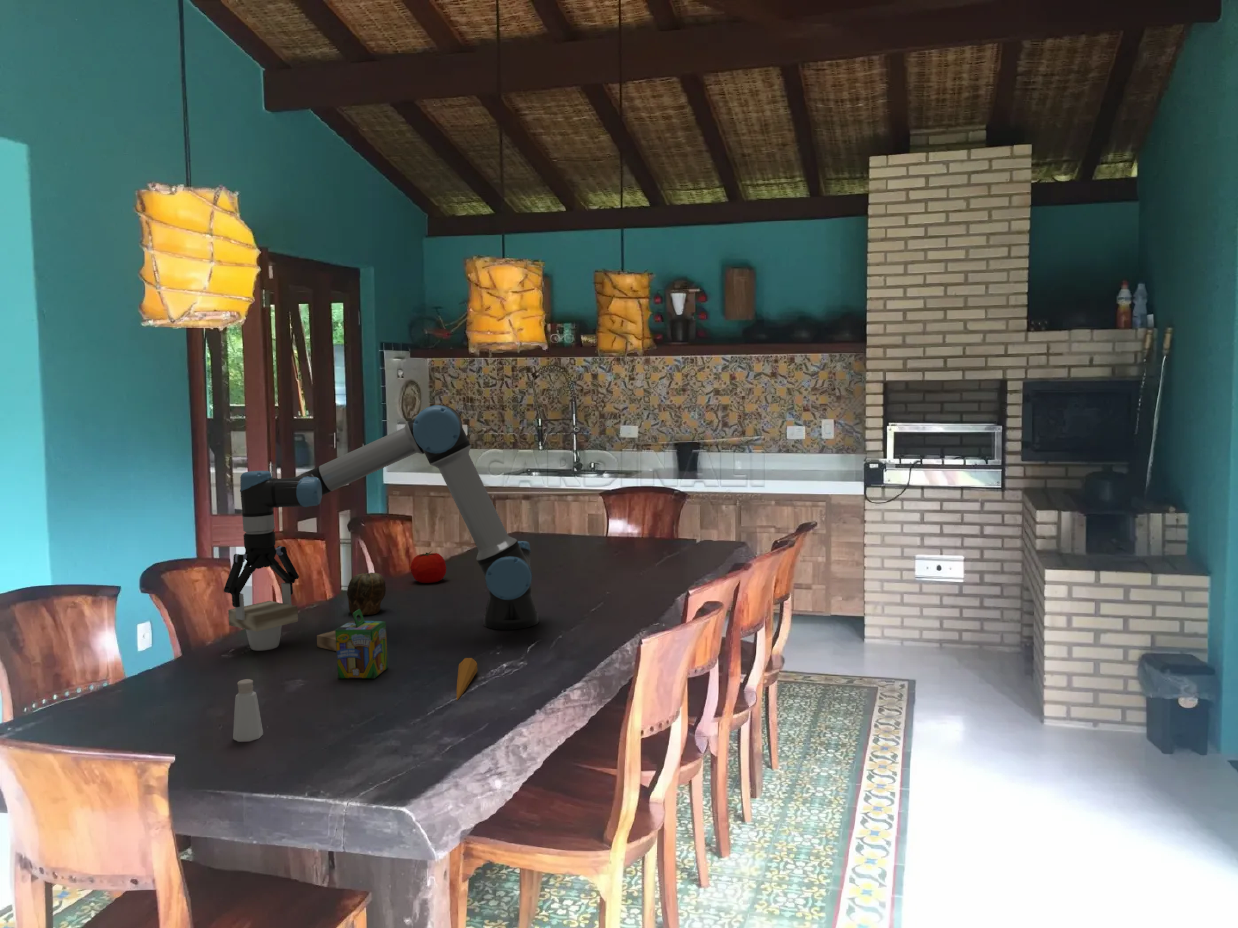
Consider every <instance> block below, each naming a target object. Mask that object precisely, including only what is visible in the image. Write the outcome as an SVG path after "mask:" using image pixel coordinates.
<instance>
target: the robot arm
mask: <svg viewBox="0 0 1238 928" xmlns="http://www.w3.org/2000/svg"><path fill="white" fill-rule="evenodd" d="M471 447H472V444H471V442H470V440H469V437H468V436H467V434H466V432H465V429H464V428H463V421H462V418H461V416H460V414H459V412H457V411H456V410H455V409H454V408H452V407H451V406H449V405H445V404H438V405H437V404H435V405H430V406H427V407H425V408H423V409H422V410H421V411H420V412H419V413H418V414H417V415H416V417H415V418H413V419H411V420H408V421H407V422H406V423H405V427H402V428H400V429H398V430H396V431H394V432H392V433H389V434H386V435H385V436H383V437H380V438H378V439H376V440H374V441H371V442H369V443H368V444H364V445H362V446H361V447H359V448H356V449H354V450H352V451H349V452H347V453H344V454H343V455H340V456H339V457H337V458H334V459H332V460H329V461H328V462H326V463H323V464H321V465H319V466H317V467H315V468H312V469H310V470H308V471H305V472H303V473H301V474H299V475H296V476H294V477H281V478H280V477H279V478H277V477H275V478H274V477H273V476H272V472H271V471H270V470H251V471H245V472H243V473H241V475H240V477H239V478H240V482H239V483H240V485H239V486H240V488H239V492H240V501H241V513H242V515H241V516H242V528H243V530H242V531H243V532H245V533H244V534H243V547H244V549H245V552H244V553H241V554H239V553H235V554H233V558H232V559H233V562H232V565H231V569H230V571H229V573H228V577H227V580H226V582H225V586H224V587H223V592H224V593H225V594H226V593H227V594H230V595H231V601H232V603H231V604H232V606H233V608H234V609H235V610H236V619H239V620H245V612H244V606H245V601H244V600H245V599H244V598H245V597H244V593H242V591H243V589H244V587H245V586H246V584H247V582H248V581H249V579H250V577H251V576H252V574H253V573H254V572H255V571H256V570H259V569H262V568H270V569H272V570H273V571H274V573H275V574H276V575H278V576H279V578H280V579H281V580H282V581H283V582H281V596H282V597H281V598H282V603H283V604H289V605H292V595H294V589H293V584H294V583H295V582H296V580H299V578H300V575H299V574H298V571H297V570H296V568H295V566H294V564H293V563H292V560H291V559H290V557H289V555H288V550H287V546H281V545H278V546H277V547H276V546H275V545H276V533H275V531H274V530H275V527H276V526H275V518H274V517H275V515H274V514H275V513H274V508H275V509H277V508H302V507H304V508H309V507H313V506H314V507H315V506H319V505H320V504H321V502H322V498H323V496H324V495H327V494H329V493H330V492H333V491H335V490H338V489H340V488H342V487H344V486H346V485H348V484H351V483H353V482H355V481H358V480H360V479H362V478H364V477H366V476H368V475H370V474H371V475H372V474H373V473H375V472H378V471H379V470H383V469H384V468H386V467H388V466H391V465H392V464H393V465H394V464H395V463H398V462H400V461H401V460H404V459H406V458H408V457H410V456H412V455H415V454H420V455H425V458H426V459H427V462H428V463H429V465H430V466H432V467H435V468H437V469H438V470H439V472H440V474H441V476H442V478H443V481H444V482H445V485H446V487H447V488H448V491H449V492H450V493H449V494H450V495H451V497H452V498H453V501H454V503H455V505H456V507H457V509H458V511H459V513H460V515H461V518H462V519H463V521H464V524H465V526H466V527H467V528H466V529H467V530H468V532H469V533H470V534H469V535H470V536H471V537H472V540H473V542H474V544H475V546H476V548H477V550H478V551H477V552H478V553H477V556H476V561H477V564H478V565H479V567H480V569H481V571H482V574H483V576H484V578H485V585H486V587H487V589H488V600H487V604H486V607H485V613H484V614H483V625H484V627H485V628H489V629H493V630H503V631H505V630H519V629H520V630H521V629H526V628H527V629H528V628H531V627H534V626H536V625H537V624H538V623H539V613H538V611H537V610H536V605H535V601H534V600H533V596H532V580H533V572H532V568H531V553H532V549H531V545H530V542H529V541H526V540H517V538H514V537H512V536H510V535H509V534H508V532H507V531H506V528H505V526H504V524H503V522H502V519H501V518H500V516H499V513H498V511H497V510H496V509H497V508H495V505H494V504H493V501H492V500H491V497H490V495H489V493H488V492H487V491H488V490H487V489H486V487H485V484H484V483H483V480H482V478H481V477H480V475H479V473H478V471H477V468H476V466H475V464H474V462H473V460H472V458H471V456H470V451H471ZM276 555H277V556H278V559H279V560H280V563H281V564H282V565H280V563H279V562H278V560H277V559H275V557H276ZM244 562H246V563H245V564H244ZM282 566H283V567H284V568H283V567H282ZM242 568H243V569H242Z"/></svg>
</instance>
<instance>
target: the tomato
mask: <svg viewBox="0 0 1238 928" xmlns="http://www.w3.org/2000/svg"><path fill="white" fill-rule="evenodd" d="M410 572H411V575H412V576H413V579H414V580H415V581H417V582H418V583H421V584H432V583H433V584H434V583H438V582H440V581H442V580H443V578H444V577H445V575H446V573H447V564H446V561H445V558H444V557H443V556H442V555H441V554H440V553H437V552H434V553H432V551H430V552H425V553H419V554H417V555H415V556H414V557H413V559H412V560H411V563H410Z"/></svg>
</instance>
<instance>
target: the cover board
mask: <svg viewBox="0 0 1238 928" xmlns="http://www.w3.org/2000/svg"><path fill="white" fill-rule="evenodd" d="M227 611H228V612H227V613H228V625H229V626H231V627H235V628H240V629H243V630H246V629H247V630H252V631H256V632H258V631H262V630H266V629H270V628H274V627H278V626H286V625H289V624H293V623H296V622H299V616H298V615H299V613H298V612H299V611H298V606H297V605H293V604H291V605H289V604H283V602H282V603H281V602H277V601H274V600H273V601H272V600H267V601H263V602H258V603H254V604H249V605H244V612H245V620H239V619H236V610H235V608H231V609H228V610H227Z"/></svg>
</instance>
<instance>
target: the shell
mask: <svg viewBox="0 0 1238 928" xmlns="http://www.w3.org/2000/svg"><path fill="white" fill-rule="evenodd" d="M386 592H387V589H386V580H385V578H384V576H383V575H382V574H380V573H379V572H369V573H367V572H364V573H363V572H361V573H357V574H355V575H354V576H353V577H352V578H351V579H350V580H349V583H348V585H347V590H346V596H347V600H348V601H347V602H348V609H349V612H350V614H351V615H353V613H354V612H355V611H357V610H358V609H360V610H361V612H362V615H363V616H372V615H376V614H378V613H380V611H381V604H382V601H383V599H385V596H386ZM357 617H360V616H359V615H357Z"/></svg>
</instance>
